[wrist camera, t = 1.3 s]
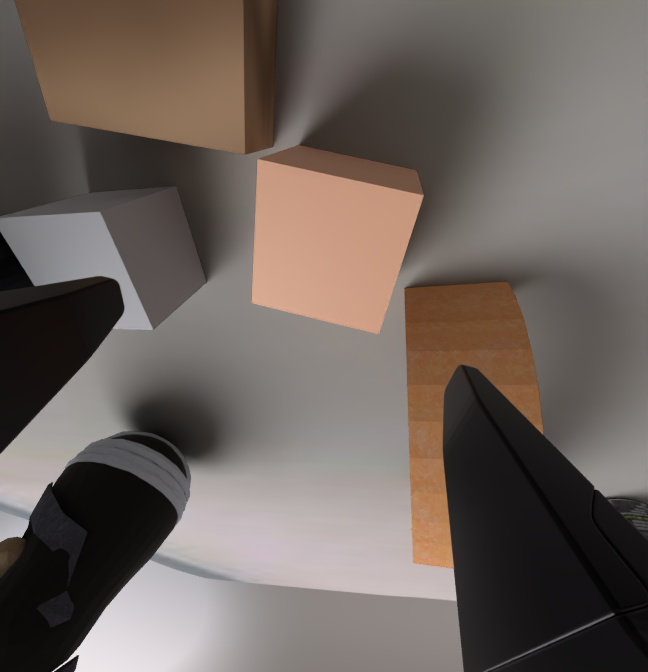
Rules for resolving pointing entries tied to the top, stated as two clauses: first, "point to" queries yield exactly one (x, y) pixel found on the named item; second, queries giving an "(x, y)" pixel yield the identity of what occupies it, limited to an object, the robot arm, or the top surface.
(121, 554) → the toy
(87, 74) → the walnut slab
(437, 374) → the arch
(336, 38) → the top surface
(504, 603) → the robot arm
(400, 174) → the terracotta cube
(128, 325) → the slate cube
